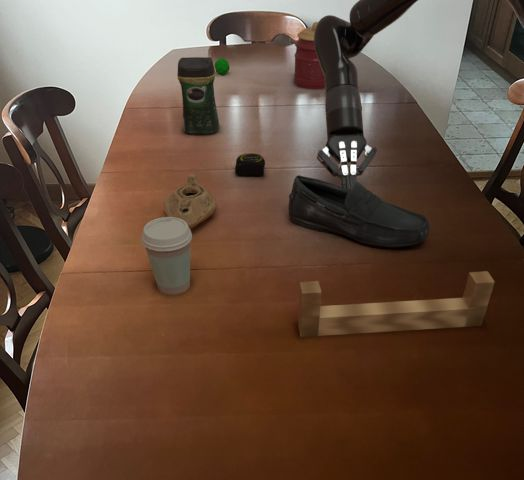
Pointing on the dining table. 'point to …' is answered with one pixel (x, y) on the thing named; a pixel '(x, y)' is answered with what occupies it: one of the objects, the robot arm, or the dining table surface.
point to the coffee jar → (198, 95)
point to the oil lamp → (190, 202)
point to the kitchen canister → (307, 61)
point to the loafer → (354, 214)
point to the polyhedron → (222, 66)
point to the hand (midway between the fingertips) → (349, 194)
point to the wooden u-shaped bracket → (393, 311)
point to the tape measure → (250, 165)
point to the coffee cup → (169, 253)
